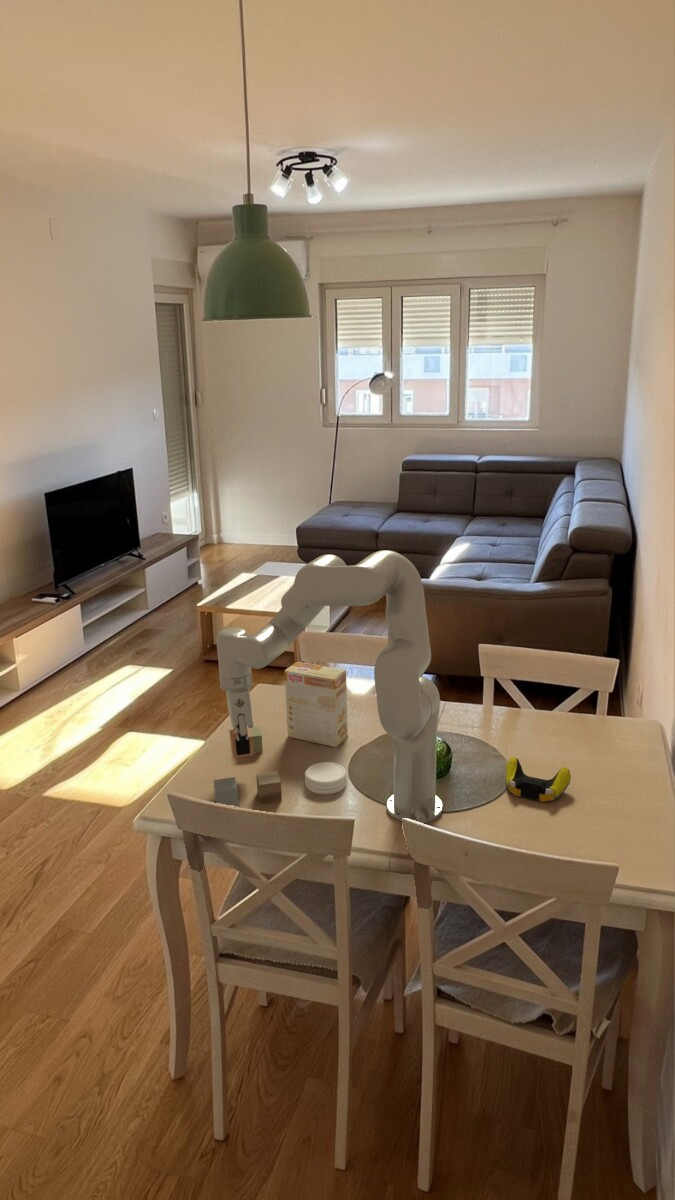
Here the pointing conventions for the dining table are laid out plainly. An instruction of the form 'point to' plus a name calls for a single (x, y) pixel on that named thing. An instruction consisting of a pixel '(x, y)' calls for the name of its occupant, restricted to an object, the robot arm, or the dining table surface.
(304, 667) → the coffeecake box
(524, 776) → the gaming controller
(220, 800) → the slate-grey block
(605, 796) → the dining table surface
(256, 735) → the green cube
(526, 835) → the dining table surface
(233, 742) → the terracotta block
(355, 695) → the dining table surface
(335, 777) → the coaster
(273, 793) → the walnut block
